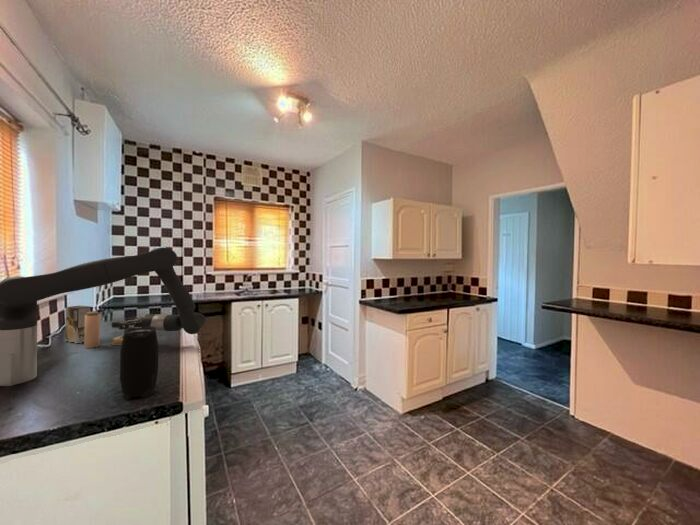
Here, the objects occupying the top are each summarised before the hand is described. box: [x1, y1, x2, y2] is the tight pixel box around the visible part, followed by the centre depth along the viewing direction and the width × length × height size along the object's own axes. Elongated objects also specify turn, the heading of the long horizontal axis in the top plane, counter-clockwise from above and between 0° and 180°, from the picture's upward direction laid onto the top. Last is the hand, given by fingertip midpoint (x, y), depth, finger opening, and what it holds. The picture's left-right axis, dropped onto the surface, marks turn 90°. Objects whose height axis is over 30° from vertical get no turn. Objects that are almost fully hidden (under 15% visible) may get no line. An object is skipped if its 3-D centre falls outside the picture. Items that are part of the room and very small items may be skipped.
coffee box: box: [64, 305, 94, 344], centre depth 142 cm, size 9×6×16 cm
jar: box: [83, 310, 101, 349], centre depth 135 cm, size 5×5×15 cm
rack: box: [110, 334, 124, 346], centre depth 145 cm, size 12×10×2 cm
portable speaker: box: [119, 326, 160, 401], centre depth 91 cm, size 9×9×20 cm
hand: (119, 322), depth 136 cm, fingers open, 8 cm apart
